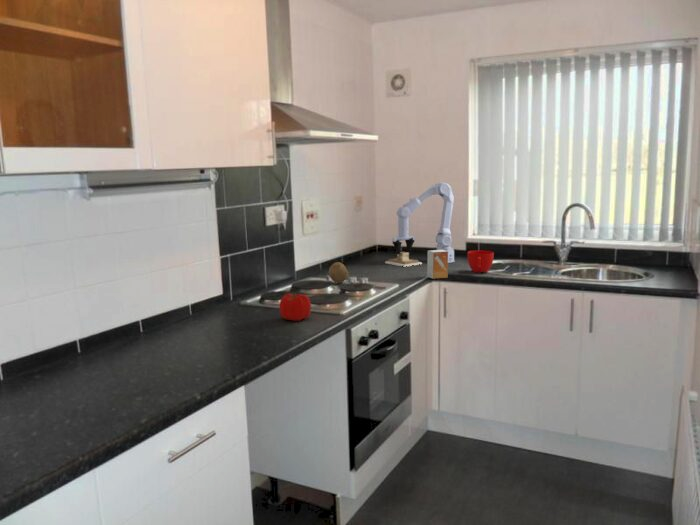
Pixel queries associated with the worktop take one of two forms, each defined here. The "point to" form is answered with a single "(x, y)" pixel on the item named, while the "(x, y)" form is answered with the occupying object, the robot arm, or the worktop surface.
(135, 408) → the worktop surface
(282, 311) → the tomato
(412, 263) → the keyed base
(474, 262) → the ceramic cup
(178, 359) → the worktop surface
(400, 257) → the flange block
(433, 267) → the small box
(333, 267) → the coconut
